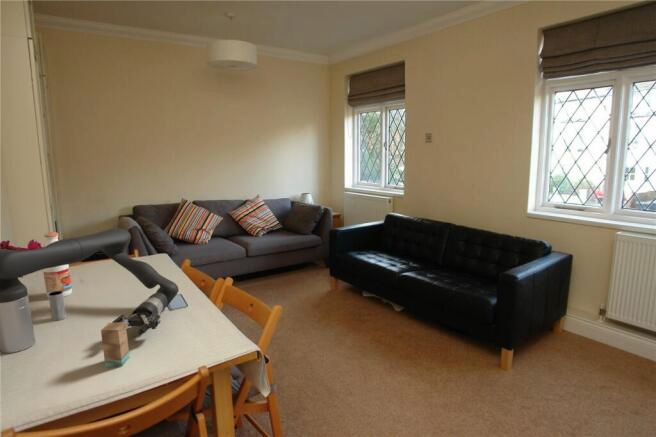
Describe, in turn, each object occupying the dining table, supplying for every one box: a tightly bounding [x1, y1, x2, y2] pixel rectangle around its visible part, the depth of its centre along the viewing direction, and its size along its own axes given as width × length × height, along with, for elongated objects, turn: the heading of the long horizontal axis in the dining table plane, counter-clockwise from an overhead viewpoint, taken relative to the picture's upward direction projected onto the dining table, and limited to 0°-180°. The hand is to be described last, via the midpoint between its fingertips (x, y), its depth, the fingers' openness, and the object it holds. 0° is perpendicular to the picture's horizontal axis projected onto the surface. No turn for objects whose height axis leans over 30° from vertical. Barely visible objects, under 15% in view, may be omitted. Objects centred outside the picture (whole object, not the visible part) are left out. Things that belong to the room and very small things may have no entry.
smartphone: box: [167, 293, 190, 311], centre depth 168 cm, size 7×1×15 cm
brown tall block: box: [100, 322, 130, 368], centre depth 122 cm, size 5×5×12 cm
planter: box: [48, 291, 67, 322], centre depth 152 cm, size 4×4×10 cm
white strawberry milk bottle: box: [42, 231, 73, 299], centre depth 174 cm, size 9×9×28 cm
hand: (126, 332), depth 129 cm, fingers open, 8 cm apart
